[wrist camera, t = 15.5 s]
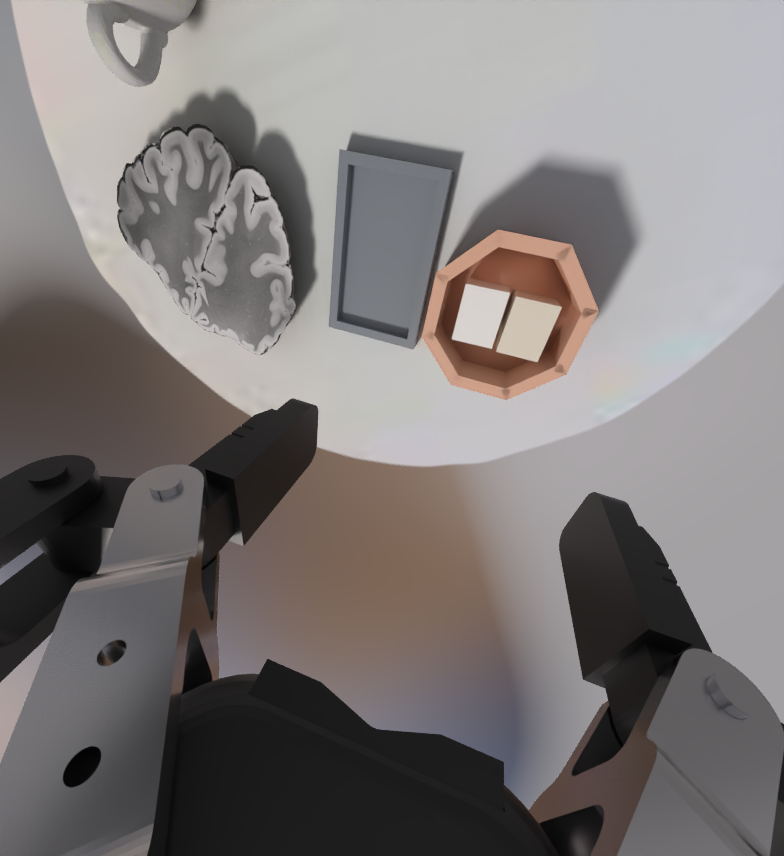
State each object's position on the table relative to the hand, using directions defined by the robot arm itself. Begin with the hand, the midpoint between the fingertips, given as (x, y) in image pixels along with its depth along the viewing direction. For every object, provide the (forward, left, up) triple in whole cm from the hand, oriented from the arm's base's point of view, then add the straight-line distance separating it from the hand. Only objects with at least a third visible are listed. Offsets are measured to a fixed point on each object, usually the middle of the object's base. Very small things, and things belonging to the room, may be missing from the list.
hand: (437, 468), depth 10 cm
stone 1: (0, 0, -24) cm, 24 cm away
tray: (-2, -10, -24) cm, 26 cm away
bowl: (0, +2, -24) cm, 24 cm away
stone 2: (0, +4, -24) cm, 24 cm away
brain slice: (0, -26, -25) cm, 36 cm away
